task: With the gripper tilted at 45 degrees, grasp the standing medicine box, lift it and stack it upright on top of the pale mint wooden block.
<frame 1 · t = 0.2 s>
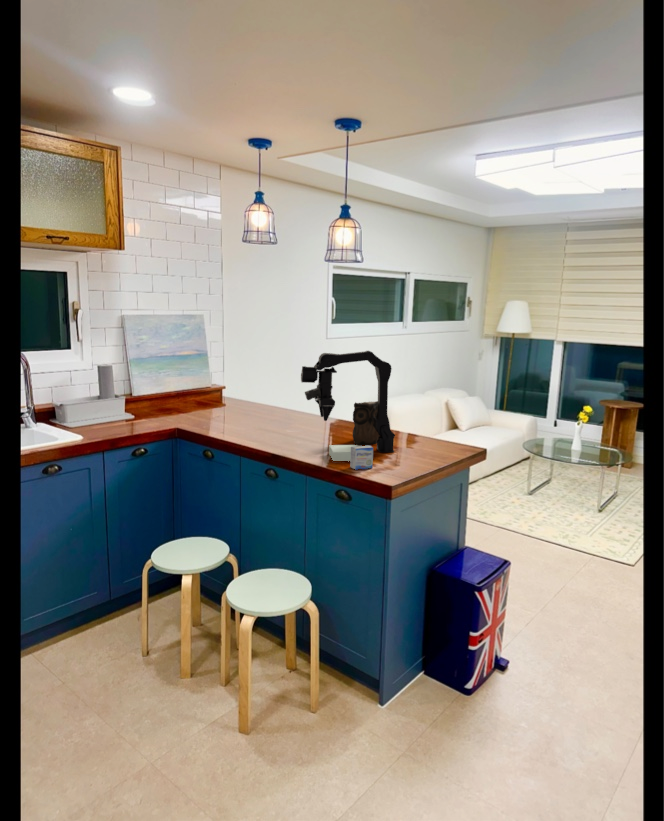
hand: (323, 418, 243), 15 cm above the countertop, tool pointing down, fingers open, 9 cm apart
medicine box: (361, 468, 223), on the countertop
owl: (364, 442, 265), on the countertop
mint block: (345, 457, 237), on the countertop
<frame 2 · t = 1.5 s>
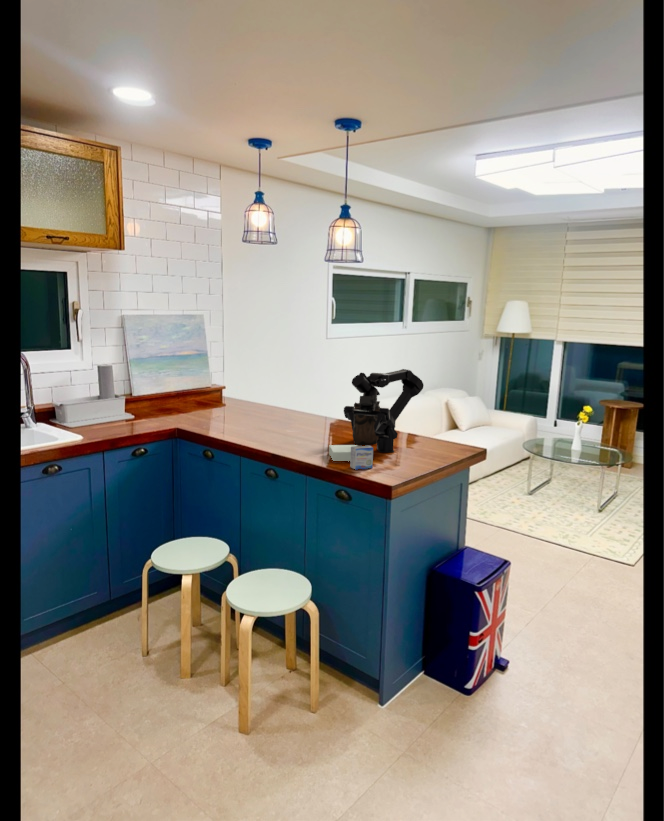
hand: (363, 430, 228), 13 cm above the countertop, tool tilted 45°, fingers open, 9 cm apart
nothing on the countertop moved.
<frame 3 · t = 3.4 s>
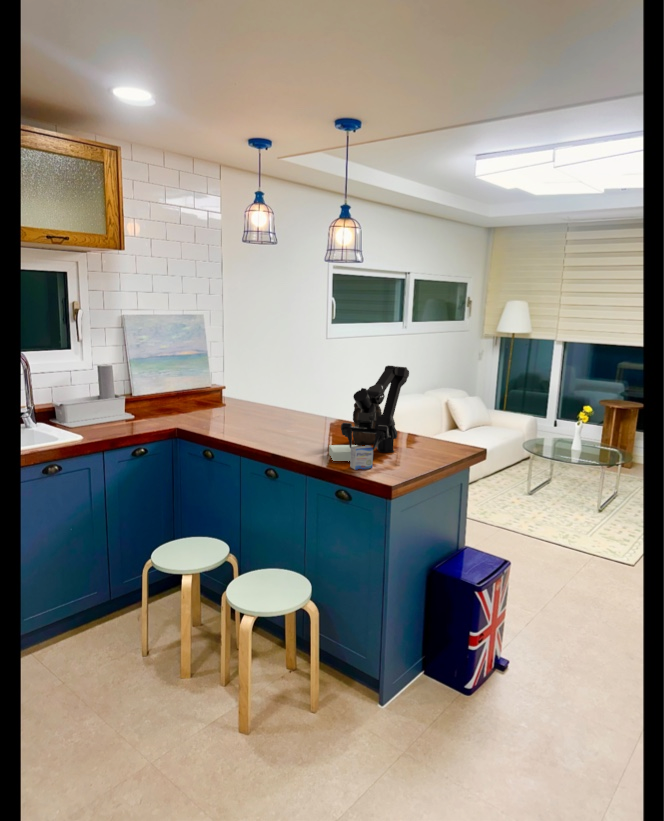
hand: (361, 448, 221), 8 cm above the countertop, tool tilted 45°, fingers open, 9 cm apart
medicine box: (361, 468, 223), on the countertop, touching gripper
everything else where it was.
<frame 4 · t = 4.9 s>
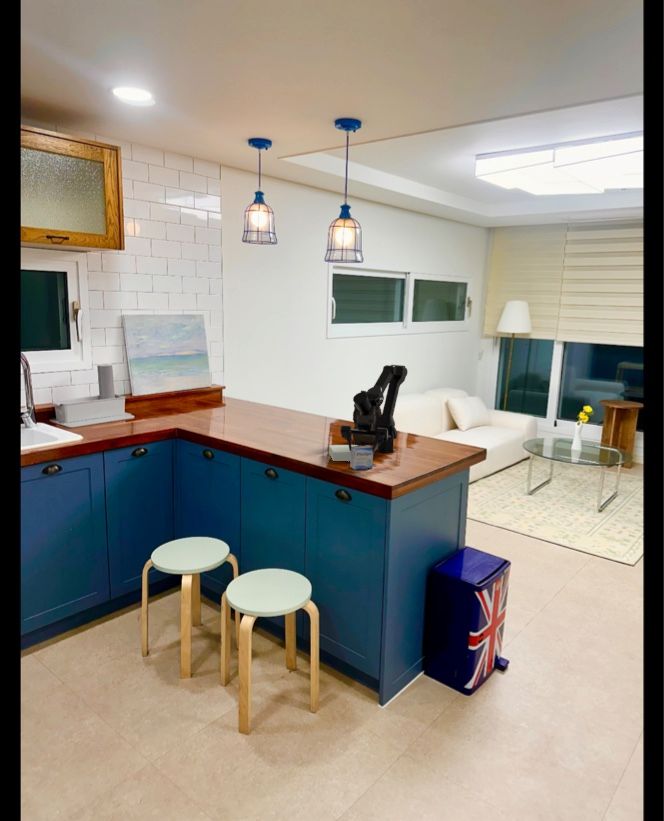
hand: (361, 451, 220), 7 cm above the countertop, tool tilted 45°, fingers closed on medicine box, 9 cm apart
medicine box: (361, 468, 223), on the countertop, touching gripper
everything else where it was.
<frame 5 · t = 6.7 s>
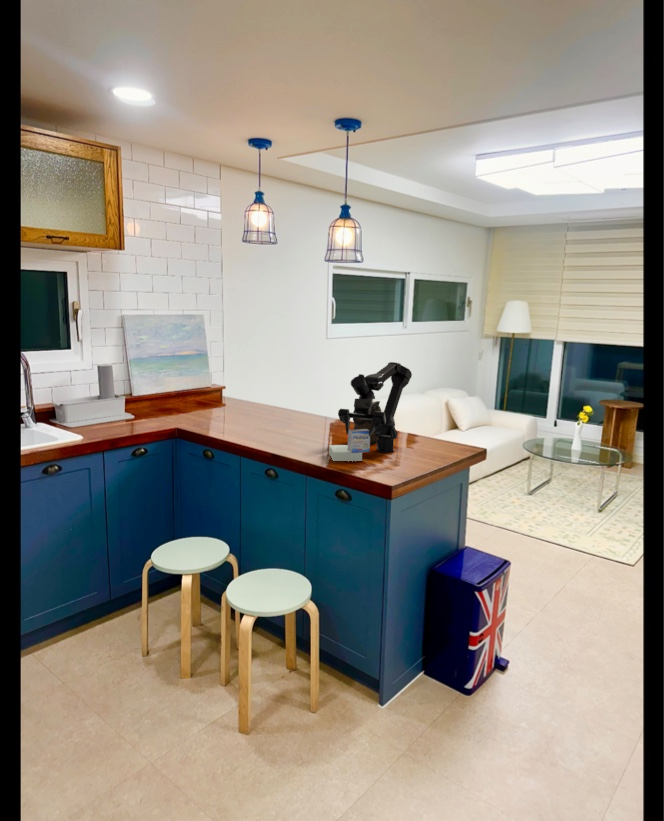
hand: (358, 434, 221), 13 cm above the countertop, tool tilted 45°, fingers closed on medicine box, 9 cm apart
medicine box: (358, 451, 224), point 6 cm above the countertop, touching gripper
everything else where it was.
when the fingers open (12 cm above the countertop, at t = 9.2 s): medicine box stays where it is, resting on mint block.
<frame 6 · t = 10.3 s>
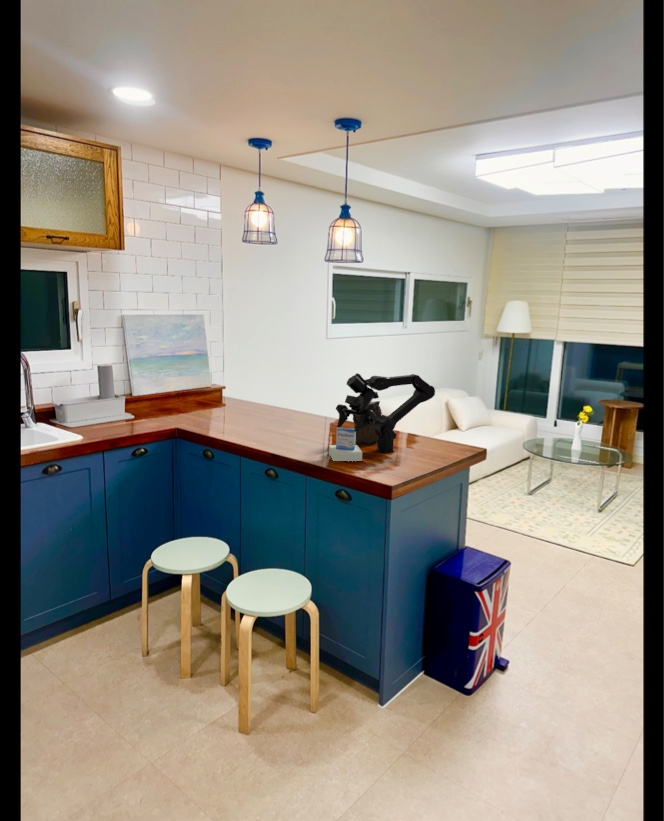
hand: (346, 429, 235), 12 cm above the countertop, tool tilted 45°, fingers open, 9 cm apart
medicine box: (345, 448, 237), point 4 cm above the countertop, touching mint block
everything else where it was.
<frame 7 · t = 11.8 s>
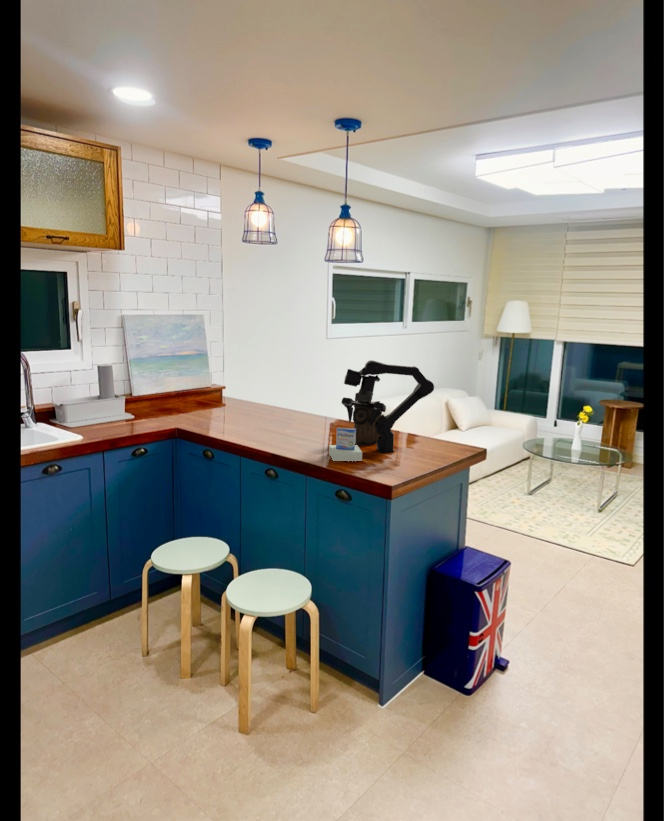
hand: (359, 424, 242), 13 cm above the countertop, tool tilted 20°, fingers open, 9 cm apart
nothing on the countertop moved.
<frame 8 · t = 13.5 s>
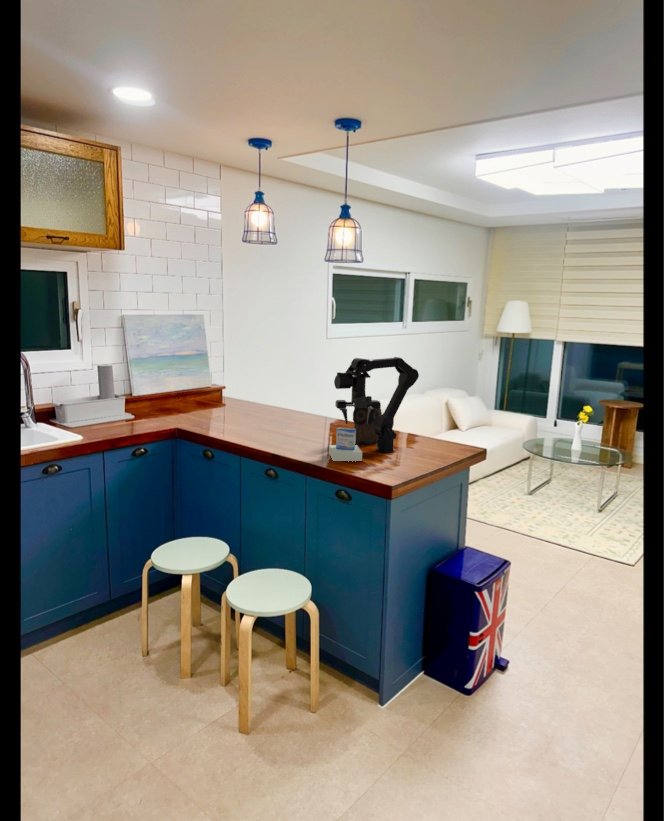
hand: (357, 424, 242), 13 cm above the countertop, tool pointing down, fingers open, 9 cm apart
nothing on the countertop moved.
at the end: medicine box inside the target area on the mint block (0.1 cm from its centre), point 3.8 cm above the mint block's base; medicine box tilted 0°; the gripper is holding nothing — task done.
